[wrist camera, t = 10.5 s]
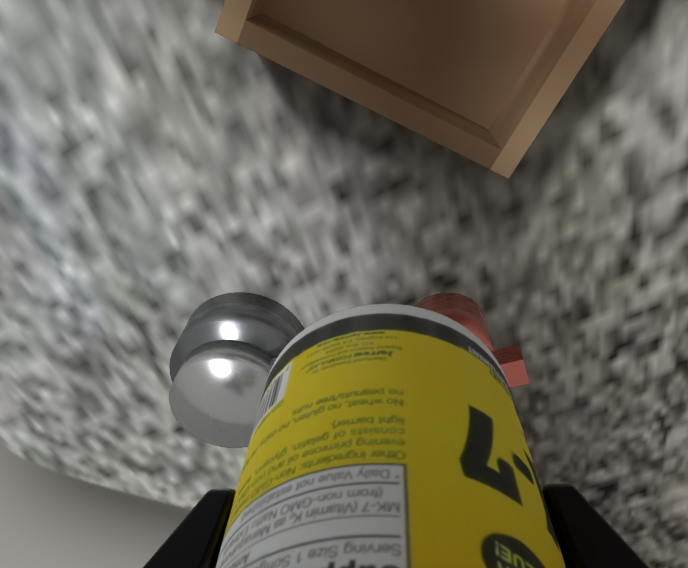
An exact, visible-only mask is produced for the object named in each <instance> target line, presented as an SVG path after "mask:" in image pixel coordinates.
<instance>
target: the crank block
mask: <svg viewBox="0 0 688 568" xmlns="http://www.w3.org/2000/svg"><path fill="white" fill-rule="evenodd" d="M303 330H304V329H303V327H302V325H301V324H300V322H299V321H298V320H297V318H296V317H295V316H294V315H293V314H292V313H291V312H290V311H289V310H288V309H286V308H285V307H284V306H282V305H281V304H279V303H278V302H276V301H274V300H271V299H269V298H267V297H264V296H261V295H257V294H252V293H239V292H236V293H227V294H223V295H219V296H216V297H214V298H211V299H210V300H208V301H206V302H204V303H203V304H202V305H200V306H199V307H198V308H197V309H196V310H195V312H194V313H193V314H192V316H191V317H190V319H189V321H188V323H187V325H186V327H185V329H184V331H183V333H182V334H181V336H180V338H179V340H178V342H177V344H176V346H175V348H174V350H173V352H172V355H171V358H170V375H171V379H172V382H173V381H174V379H175V377H176V375H177V373H178V371H179V369H180V367H181V365H182V363H183V361H184V359H185V358H186V356H187V355H188V354H189V353H190V352H191V351H192V350H194V349H195V348H196V347H198V346H200V345H202V344H204V343H207V342H210V341H215V340H238V341H242V342H246V343H249V344H252V345H254V346H257V347H259V348H261V349H262V350H264V351H266V352H267V353H268V354H269V355H271V356H272V357H273V358H277V357H278V356H279V354H280V353H281V352H282V350H283V349H284V348H285V347H286V346H287V344H288V343H289V342H290V341H291V340H292V339H293V338H294V337H296V336H297V335H298V334H299V333H300V332H302V331H303Z"/></svg>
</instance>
